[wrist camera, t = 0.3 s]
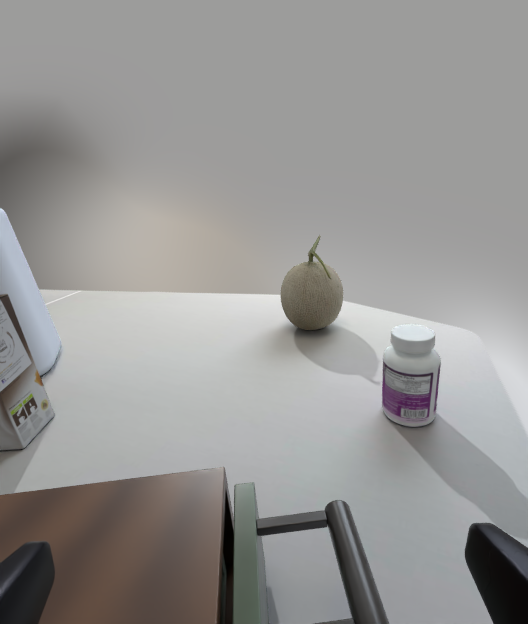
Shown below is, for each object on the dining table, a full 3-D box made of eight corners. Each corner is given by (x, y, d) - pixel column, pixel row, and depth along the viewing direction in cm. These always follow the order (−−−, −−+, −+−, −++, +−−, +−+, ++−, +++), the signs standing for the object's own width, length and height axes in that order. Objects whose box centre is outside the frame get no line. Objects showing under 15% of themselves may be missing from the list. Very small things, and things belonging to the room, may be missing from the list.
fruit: (301, 347, 54) (296, 252, 48) (274, 322, 64) (267, 242, 59) (358, 332, 57) (359, 241, 51) (324, 311, 67) (321, 234, 62)
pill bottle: (397, 392, 41) (401, 316, 37) (444, 411, 37) (453, 328, 33) (371, 413, 37) (373, 333, 34) (419, 436, 34) (427, 349, 30)
